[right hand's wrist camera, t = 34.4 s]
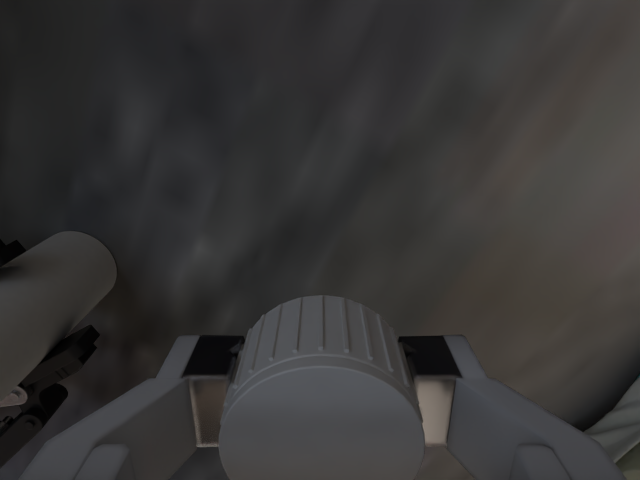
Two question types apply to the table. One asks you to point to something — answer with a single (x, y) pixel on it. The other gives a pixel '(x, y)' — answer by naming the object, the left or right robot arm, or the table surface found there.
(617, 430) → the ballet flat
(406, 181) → the table surface
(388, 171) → the table surface
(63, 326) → the bottle
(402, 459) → the cap
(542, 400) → the table surface
